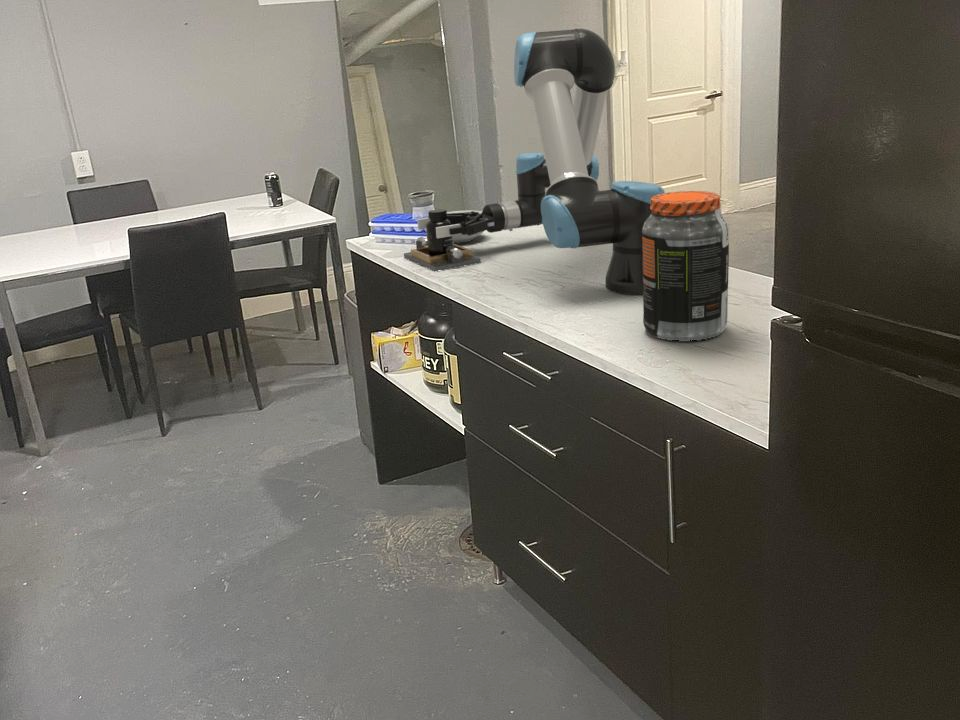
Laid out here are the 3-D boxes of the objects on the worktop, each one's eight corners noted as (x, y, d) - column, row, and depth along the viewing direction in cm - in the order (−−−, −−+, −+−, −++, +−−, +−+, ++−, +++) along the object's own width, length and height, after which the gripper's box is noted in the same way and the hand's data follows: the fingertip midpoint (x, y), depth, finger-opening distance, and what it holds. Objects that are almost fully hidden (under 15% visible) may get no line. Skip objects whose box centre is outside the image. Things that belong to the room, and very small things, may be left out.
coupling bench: (481, 263, 234) (480, 244, 232) (436, 272, 229) (434, 253, 227) (446, 249, 251) (445, 232, 250) (403, 257, 246) (402, 240, 244)
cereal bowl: (422, 239, 266) (420, 215, 263) (473, 231, 272) (472, 207, 270) (445, 250, 251) (442, 225, 249) (498, 240, 257) (497, 216, 255)
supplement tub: (742, 325, 173) (746, 191, 165) (701, 349, 163) (703, 207, 154) (669, 313, 184) (669, 186, 175) (626, 335, 173) (624, 201, 164)
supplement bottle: (453, 257, 236) (449, 212, 232) (427, 259, 236) (423, 214, 232) (454, 251, 243) (450, 207, 239) (429, 253, 243) (424, 209, 239)
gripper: (521, 238, 234) (446, 251, 226) (482, 223, 256) (412, 234, 248) (520, 209, 231) (443, 221, 224) (480, 197, 253) (409, 207, 245)
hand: (426, 228), depth 236 cm, fingers open, 13 cm apart
